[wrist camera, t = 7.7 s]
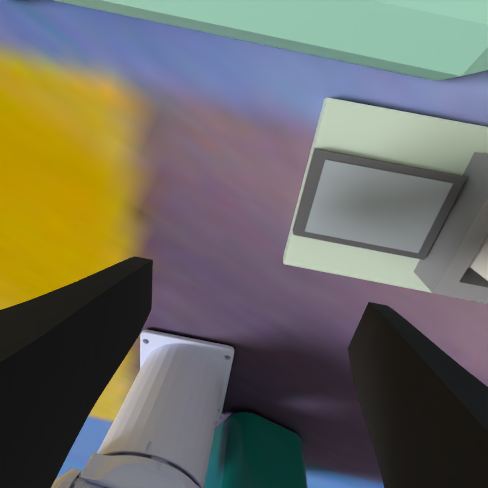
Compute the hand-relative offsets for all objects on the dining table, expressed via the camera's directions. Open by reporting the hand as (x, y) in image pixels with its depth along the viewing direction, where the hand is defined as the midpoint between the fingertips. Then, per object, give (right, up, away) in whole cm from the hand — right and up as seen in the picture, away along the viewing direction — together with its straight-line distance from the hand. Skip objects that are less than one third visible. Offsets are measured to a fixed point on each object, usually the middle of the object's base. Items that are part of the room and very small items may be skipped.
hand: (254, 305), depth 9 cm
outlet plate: (+12, +4, +8) cm, 15 cm away
